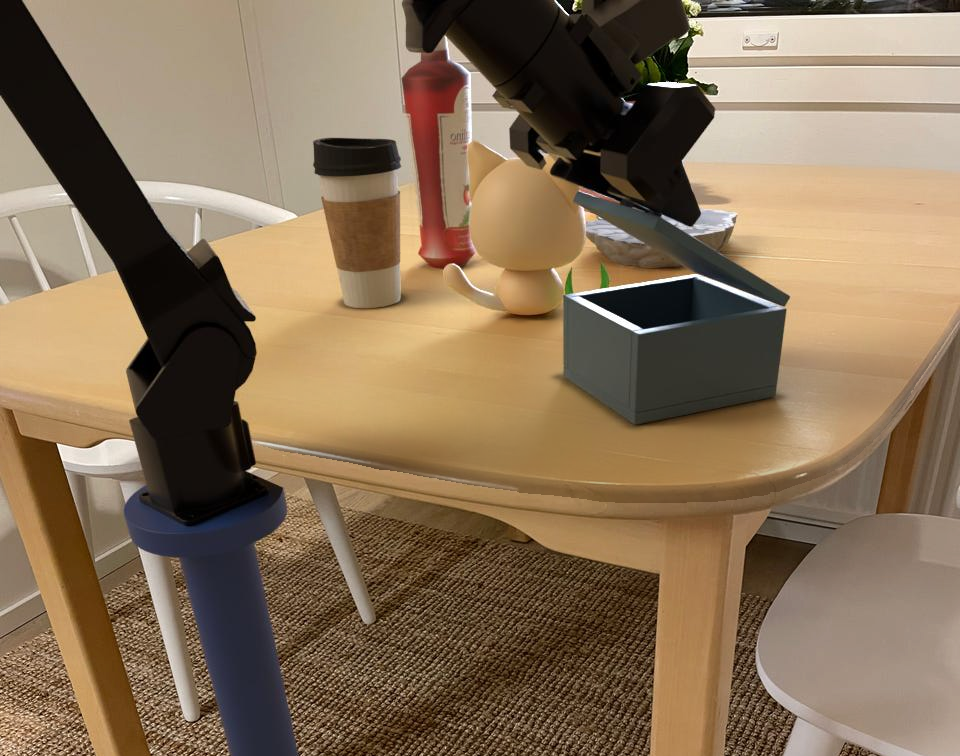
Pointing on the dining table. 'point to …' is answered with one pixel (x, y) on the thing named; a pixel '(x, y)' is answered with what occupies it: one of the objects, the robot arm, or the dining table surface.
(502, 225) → the beige cat figurine
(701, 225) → the grey flat stone slab
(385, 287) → the coffee cup
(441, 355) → the dining table surface
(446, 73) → the liquor
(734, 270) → the lid
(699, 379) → the cooler
